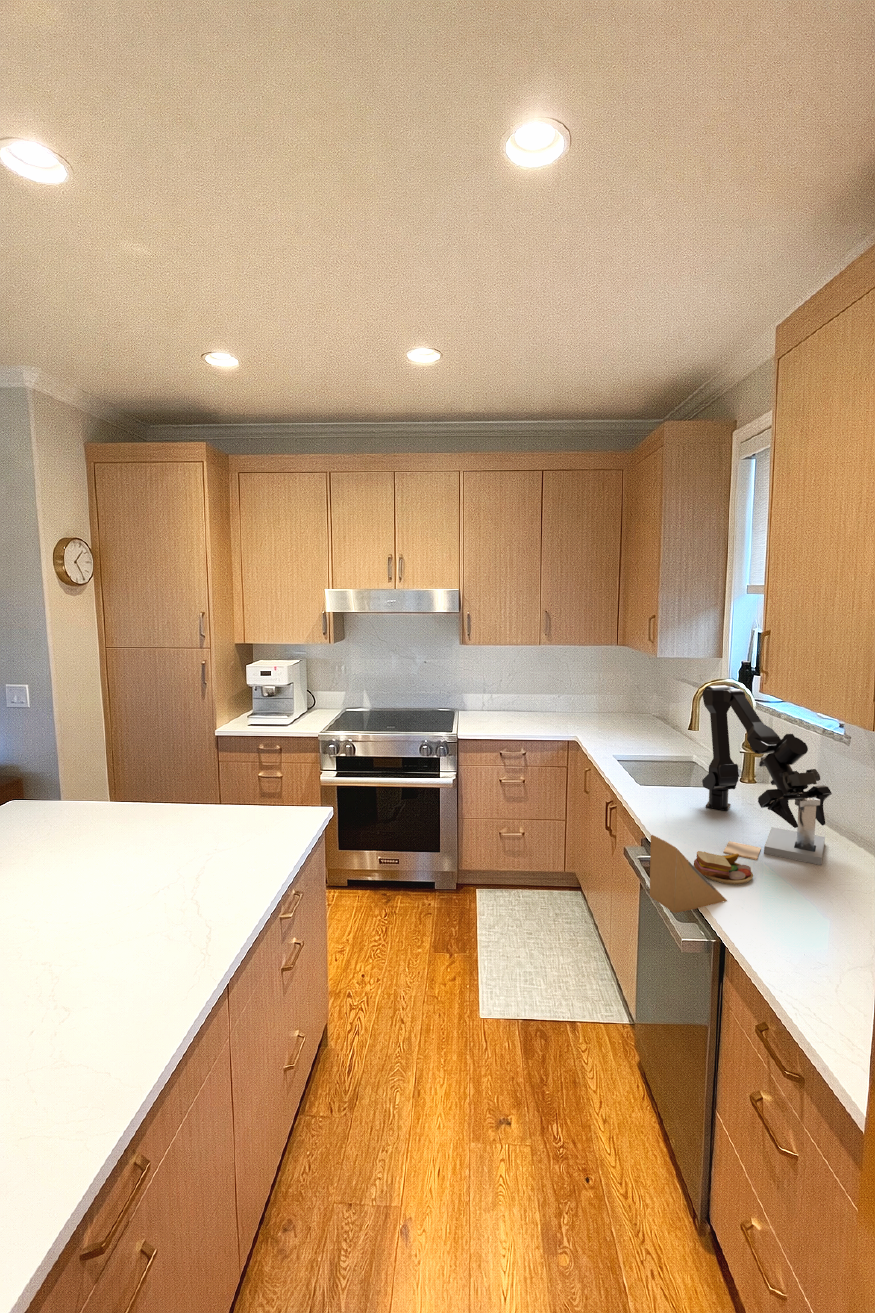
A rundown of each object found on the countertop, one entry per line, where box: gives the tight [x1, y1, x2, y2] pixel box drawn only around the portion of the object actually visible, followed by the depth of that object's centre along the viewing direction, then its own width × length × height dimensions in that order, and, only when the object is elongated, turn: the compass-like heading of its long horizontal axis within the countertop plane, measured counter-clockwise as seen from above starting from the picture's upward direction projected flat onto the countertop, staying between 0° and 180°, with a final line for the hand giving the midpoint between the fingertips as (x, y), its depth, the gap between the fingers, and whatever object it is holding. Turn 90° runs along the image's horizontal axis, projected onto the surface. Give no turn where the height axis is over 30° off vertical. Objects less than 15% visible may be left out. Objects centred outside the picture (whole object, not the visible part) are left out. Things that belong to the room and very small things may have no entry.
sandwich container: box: [649, 834, 728, 914], centre depth 139 cm, size 9×15×15 cm, turn 110°
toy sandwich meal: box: [693, 850, 754, 885], centre depth 151 cm, size 12×14×5 cm
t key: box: [794, 798, 820, 852], centre depth 161 cm, size 4×6×15 cm, turn 100°
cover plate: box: [763, 826, 826, 866], centre depth 166 cm, size 16×13×2 cm
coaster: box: [723, 840, 762, 861], centre depth 164 cm, size 8×8×1 cm
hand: (810, 826), depth 160 cm, fingers open, 8 cm apart
